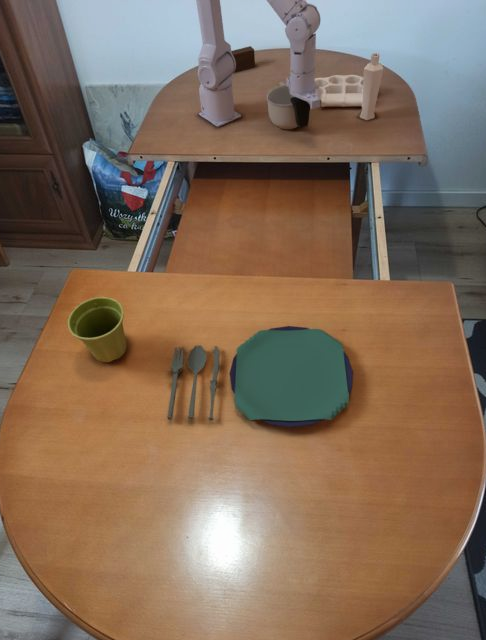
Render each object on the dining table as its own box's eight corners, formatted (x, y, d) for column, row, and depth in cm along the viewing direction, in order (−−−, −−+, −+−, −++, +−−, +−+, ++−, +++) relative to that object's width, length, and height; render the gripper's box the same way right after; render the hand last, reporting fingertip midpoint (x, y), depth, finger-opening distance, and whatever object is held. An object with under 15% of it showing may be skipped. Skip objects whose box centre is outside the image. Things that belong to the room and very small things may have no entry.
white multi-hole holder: (309, 110, 135) (311, 85, 144) (377, 109, 132) (375, 84, 141) (309, 97, 132) (312, 73, 141) (379, 97, 129) (377, 71, 138)
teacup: (310, 132, 128) (311, 101, 122) (268, 135, 129) (267, 104, 122) (305, 106, 137) (306, 75, 130) (266, 109, 137) (265, 79, 131)
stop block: (255, 66, 154) (254, 49, 150) (225, 74, 153) (223, 57, 149) (251, 63, 156) (250, 45, 152) (221, 70, 154) (220, 53, 150)
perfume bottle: (355, 113, 132) (363, 52, 120) (372, 111, 132) (380, 49, 120) (360, 121, 129) (368, 60, 117) (377, 119, 129) (386, 57, 117)
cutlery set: (358, 433, 75) (360, 425, 73) (163, 433, 77) (160, 426, 76) (345, 331, 87) (347, 323, 85) (177, 334, 90) (175, 326, 88)
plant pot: (73, 363, 87) (56, 332, 81) (100, 324, 93) (85, 291, 86) (120, 376, 85) (106, 344, 78) (144, 335, 90) (133, 302, 83)
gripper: (332, 75, 111) (329, 133, 122) (304, 53, 120) (303, 109, 131) (304, 83, 110) (303, 141, 121) (277, 61, 119) (279, 116, 130)
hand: (302, 125), depth 126 cm, fingers closed
